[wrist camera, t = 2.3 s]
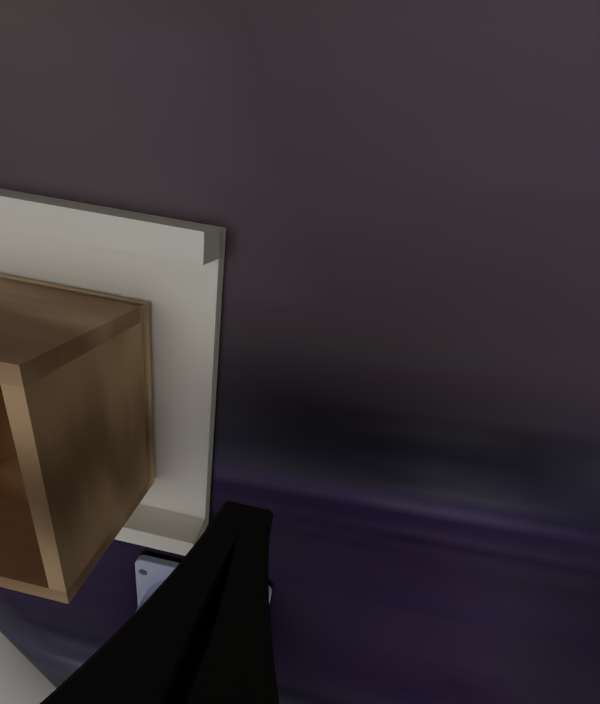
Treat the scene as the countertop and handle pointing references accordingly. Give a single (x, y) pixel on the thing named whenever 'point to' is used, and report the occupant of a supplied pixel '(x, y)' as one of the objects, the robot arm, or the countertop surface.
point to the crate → (69, 430)
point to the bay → (164, 323)
